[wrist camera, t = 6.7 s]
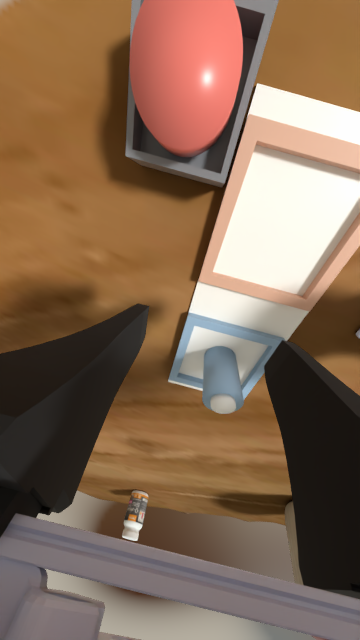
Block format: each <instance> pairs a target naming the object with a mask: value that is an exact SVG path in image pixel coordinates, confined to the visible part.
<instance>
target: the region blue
mask: <svg viewBox="0 0 360 640" xmlns="http://www.w3.org/2000/svg"><path fill="white" fill-rule="evenodd" d="M194 326H198V327H201V328H205V329H209V330H212V331H216V332H220V333H224V334H227V335H231V336H235V337H238V338H242V339H246V340H249V341H253V342H257V343H261V344H264V345H268V347H267V349H266V350H265V352H264V353H263V355H262V356H261V358H260V359H259V360H258V362H257V363H256V365H255V366H254V368H253V369H252V371H251V372H250V374H249V375H248V377H247V378H246V379H245V381H244V382H243V384H242V385H241V388H242V393H243V399H245V397H246V396H247V395H248V393H249V392H250V391H251V389H252V388H253V387H254V385H255V384H256V383H257V381H258V380H259V379H260V377H261V376H262V375H263V373H264V372H265V371H264V365H265V364H266V362H267V361H268V360H269V358H270V357H271V355H272V354H273V352H274V351H275V350H276V348H277V347H278V345H279V344H280V342H281V341H282V340H284V341H286V340H285V339H284V338H282V337H279V336H275V335H271V334H268V333H264V332H260V331H256V330H253V329H249V328H245V327H242V326H238V325H234V324H231V323H227V322H223V321H220V320H216V319H212V318H208V317H205V316H201V315H197V314H194V313H190V312H189V313H188V316H187V319H186V323H185V326H184V329H183V333H182V336H181V339H180V343H179V346H178V349H177V353H176V356H175V359H174V363H173V366H172V369H171V373H170V376H169V380H172V381H175V382H179V383H183V384H187V385H190V386H194V387H198V388H202V389H203V379H200V378H196V377H193V376H189V375H185V374H181V373H179V370H180V367H181V364H182V361H183V358H184V355H185V352H186V349H187V346H188V343H189V340H190V337H191V334H192V331H193V328H194Z"/></svg>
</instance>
